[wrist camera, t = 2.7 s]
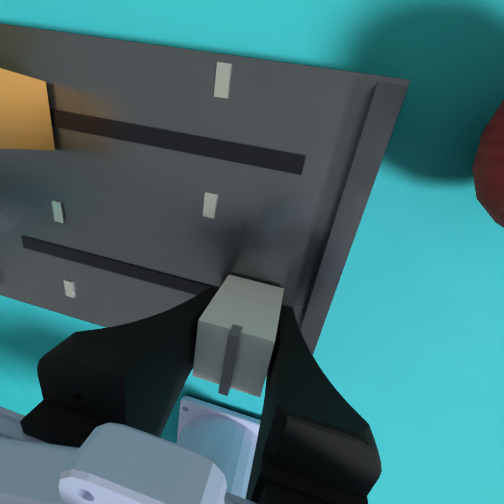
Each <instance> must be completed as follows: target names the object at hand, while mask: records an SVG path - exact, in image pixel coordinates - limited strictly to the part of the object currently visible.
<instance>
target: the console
mask: <svg viewBox="0 0 504 504" xmlns="http://www.w3.org/2000/svg"><path fill="white" fill-rule="evenodd" d="M0 68H2V69H5V70H8V71H12V72H15V73H19V74H22V75H25V76H29V77H32V78H35V79H39V80H42V81H46V87H47V95H48V102H49V110H50V117H51V124H52V132H53V139H54V147H55V150H30V149H0V295H2V296H5V297H9V298H12V299H15V300H18V301H22V302H25V303H28V304H32V305H35V306H38V307H41V308H45V309H48V310H51V311H54V312H58V313H61V314H64V315H67V316H71V317H74V318H77V319H80V320H84V321H87V322H90V323H93V324H97V325H100V326H103V327H107V328H108V327H113V326H118V325H122V324H126V323H131V322H134V321H137V320H141V319H144V318H148V317H151V316H154V315H156V314H159V313H162V312H164V311H167V310H169V309H171V308H173V307H175V306H177V305H179V304H181V303H184V302H186V301H187V300H189V299H191V298H193V297H195V296H196V295H198V294H200V293H201V292H203V291H205V290H207V289H208V288H210V287H212V286H214V287H218V288H220V287H221V285H222V284H223V282H224V281H225V279H226V278H227V276H228V275H233V276H237V277H241V278H245V279H249V280H252V281H256V282H260V283H264V284H268V285H272V286H276V287H280V288H284V292H283V298H282V305H285V306H289V307H293V309H294V312H295V316H296V319H297V322H298V325H299V328H300V330H301V333H302V335H303V337H304V340H305V342H306V344H307V346H308V348H309V350H310V352H311V354H312V356H313V353H314V350H315V347H316V344H317V341H318V339H319V336H320V333H321V330H322V327H323V325H324V322H325V319H326V316H327V313H328V311H329V308H330V305H331V302H332V299H333V297H334V294H335V291H336V288H337V285H338V282H339V280H340V277H341V274H342V271H343V268H344V266H345V263H346V260H347V257H348V254H349V252H350V249H351V246H352V243H353V240H354V238H355V235H356V232H357V229H358V226H359V223H360V221H361V218H362V215H363V212H364V209H365V207H366V204H367V201H368V198H369V195H370V193H371V190H372V187H373V184H374V181H375V179H376V176H377V173H378V170H379V167H380V164H381V162H382V159H383V156H384V153H385V150H386V148H387V145H388V142H389V139H390V136H391V134H392V131H393V128H394V125H395V122H396V120H397V117H398V114H399V111H400V108H401V105H402V103H403V100H404V97H405V94H406V91H407V89H408V85H409V82H410V80H408V79H401V78H393V77H386V76H379V75H371V74H364V73H357V72H349V71H342V70H335V69H328V68H320V67H313V66H306V65H298V64H291V63H284V62H276V61H269V60H262V59H254V58H247V57H240V56H233V55H225V54H218V53H211V52H203V51H196V50H189V49H181V48H174V47H167V46H160V45H152V44H145V43H138V42H130V41H123V40H116V39H108V38H101V37H94V36H86V35H79V34H72V33H65V32H57V31H50V30H43V29H35V28H28V27H21V26H13V25H6V24H0ZM266 377H267V373H266Z"/></svg>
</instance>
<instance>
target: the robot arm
mask: <svg viewBox="0 0 504 504" xmlns="http://www.w3.org/2000/svg"><path fill="white" fill-rule="evenodd" d="M218 290H219V288H218V287H214V286H212V287H210V288H208V289H207V290H205V291H203V292H201V293H200V294H198V295H196V296H195V297H193V298H191V299H189V300H187V301H186V302H184V303H181V304H179V305H177V306H175V307H173V308H171V309H169V310H167V311H164V312H162V313H159V314H156V315H154V316H151V317H148V318H144V319H141V320H137V321H134V322H131V323H126V324H122V325H118V326H113V327H108V328H102V329H95V330H88V331H80V332H75V333H73V334H72V335H71V336H69V337H68V338H67V339H65V340H64V341H63V342H61V343H60V344H59V345H57V346H56V347H55V348H53V349H52V350H51V351H49V352H48V353H47V354H45V355H44V356H43V357H42V358H41V359H40V360H39V363H38V367H37V371H38V378H39V382H40V387H41V391H42V395H43V399H44V400H43V401H42V402H41V403H39V404H38V405H37V406H36V407H35V408H34V409H33V410H32V411H31V412H30V413H29V414H27V415H26V416H24V415H21V414H18V413H16V412H13V411H10V410H8V409H5V408H2V407H0V504H368V500H367V495H368V494H369V492H370V491H371V489H372V488H373V486H374V485H375V483H376V482H377V480H378V479H379V476H380V474H381V471H382V470H381V461H380V457H379V453H378V449H377V446H376V443H375V440H374V437H373V434H372V431H371V429H370V426H369V424H368V423H367V422H366V421H365V420H364V419H363V418H362V417H361V416H360V415H359V414H358V413H357V412H356V411H355V410H354V409H353V408H352V407H351V406H350V405H349V404H348V403H347V402H346V400H345V399H344V398H343V397H342V396H341V395H340V394H339V392H338V391H337V390H336V389H335V388H334V386H333V385H332V384H331V382H330V381H329V380H328V378H327V377H326V376H325V374H324V373H323V372H322V370H321V369H320V367H319V366H318V364H317V362H316V361H315V359H314V357H313V356H312V354H311V352H310V350H309V348H308V346H307V344H306V342H305V340H304V337H303V335H302V333H301V330H300V328H299V325H298V322H297V319H296V316H295V312H294V309H293V307H289V306H285V305H282V304H281V310H280V316H279V321H278V327H277V333H276V339H275V344H274V347H273V351H272V355H271V359H270V362H269V366H268V370H267V379H266V390H265V398H264V405H263V411H262V416H261V420H259V419H256V418H253V417H250V416H246V415H243V414H240V413H237V412H234V411H231V410H228V409H225V408H222V407H219V406H216V405H213V404H210V403H207V402H204V401H201V400H198V399H195V398H192V397H189V396H184V397H182V399H181V401H180V410H179V422H178V434H177V442H176V443H174V442H171V441H168V440H165V439H163V438H160V436H161V434H162V431H163V429H164V427H165V425H166V422H167V420H168V418H169V416H170V413H171V411H172V409H173V407H174V405H175V402H176V400H177V398H178V396H179V394H180V392H181V390H182V388H183V385H184V383H185V381H186V379H187V377H188V376H189V374H190V372H191V370H192V369H193V366H194V357H195V347H196V337H197V328H198V320H199V318H200V317H201V315H202V314H203V312H204V311H205V309H206V308H207V306H208V305H209V303H210V302H211V300H212V299H213V297H214V296H215V294H216V293H217V291H218Z"/></svg>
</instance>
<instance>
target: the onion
mask: <svg viewBox="0 0 504 504" xmlns="http://www.w3.org/2000/svg"><path fill="white" fill-rule="evenodd" d="M472 171H473V177H474V183H475V190H476V196H477V199H478V201H479V202H480V203H481V205H482V206H483V207H484V208H485V210H486V211H487V212H488V213H489V215H490V216H491V217H492V219H493V220H494V221H495V222H496V223H497V224H499V225H500V226H502V227H504V100H503V102H502V103H501V105H500V106H499V108H498V109H497V111H496V112H495V114H494V115H493V117H492V118H491V120H490V121H489V123H488V125H487V126H486V128H485V129H484V131H483V132H482V135H481V139H480V142H479V146H478V149H477V153H476V156H475V160H474V163H473V167H472Z"/></svg>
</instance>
